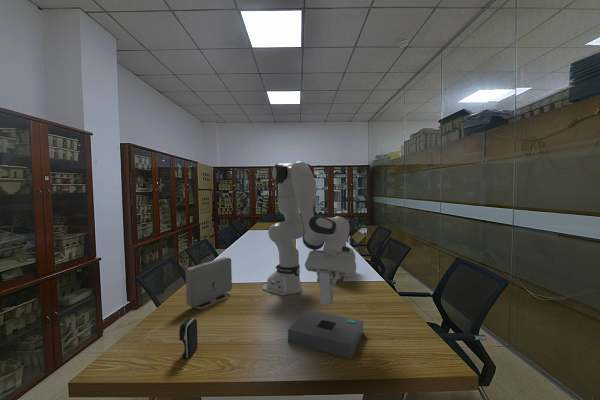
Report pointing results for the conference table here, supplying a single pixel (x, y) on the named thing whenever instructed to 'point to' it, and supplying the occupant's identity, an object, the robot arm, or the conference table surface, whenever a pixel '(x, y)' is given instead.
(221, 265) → the network device
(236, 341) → the conference table surface
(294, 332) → the docking mount
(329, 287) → the peg
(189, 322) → the battery charger
